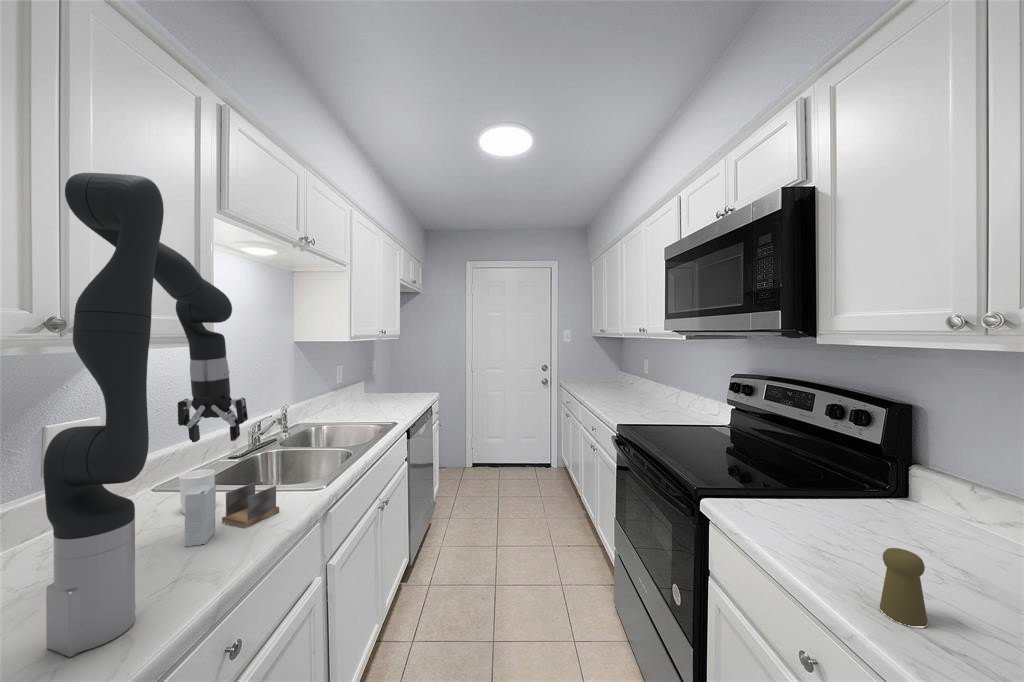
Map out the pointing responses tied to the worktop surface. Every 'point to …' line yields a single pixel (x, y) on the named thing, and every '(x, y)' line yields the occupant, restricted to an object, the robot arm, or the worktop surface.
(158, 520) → the worktop surface
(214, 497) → the skincare box
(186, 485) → the white cup
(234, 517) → the brown gray open holder
